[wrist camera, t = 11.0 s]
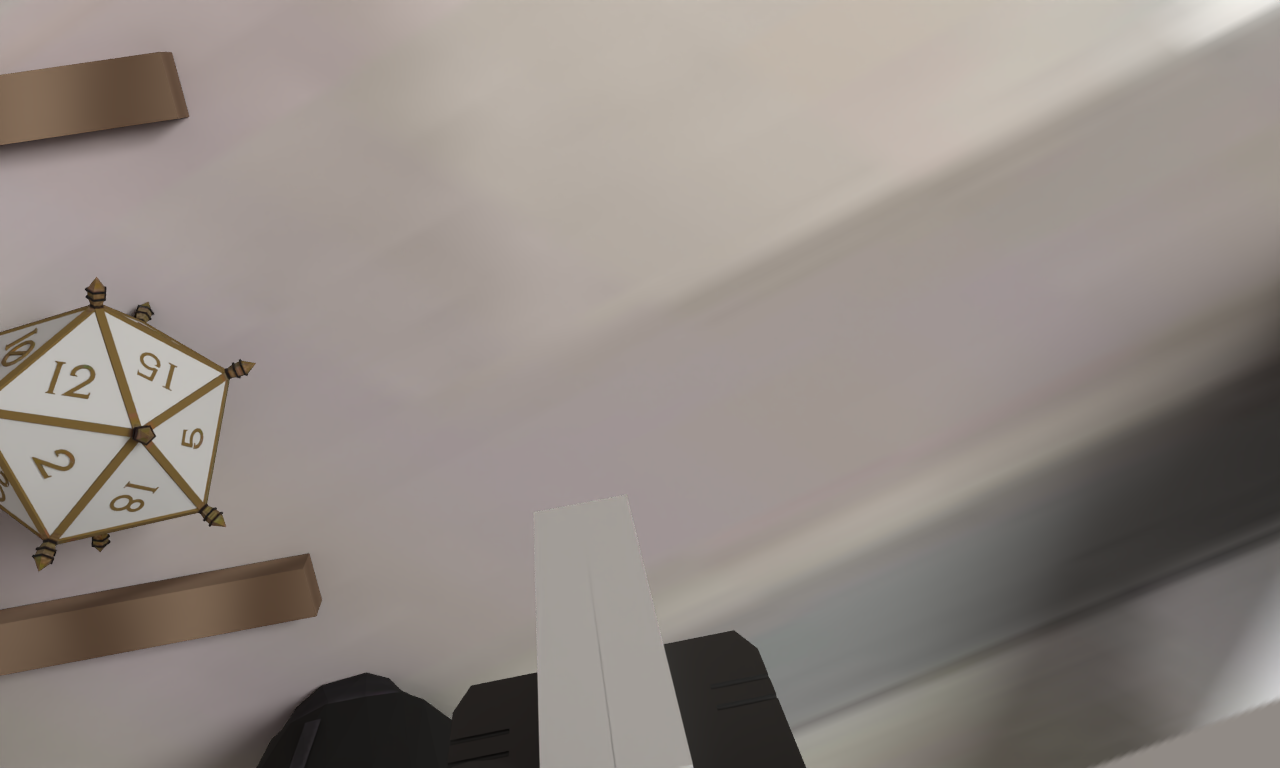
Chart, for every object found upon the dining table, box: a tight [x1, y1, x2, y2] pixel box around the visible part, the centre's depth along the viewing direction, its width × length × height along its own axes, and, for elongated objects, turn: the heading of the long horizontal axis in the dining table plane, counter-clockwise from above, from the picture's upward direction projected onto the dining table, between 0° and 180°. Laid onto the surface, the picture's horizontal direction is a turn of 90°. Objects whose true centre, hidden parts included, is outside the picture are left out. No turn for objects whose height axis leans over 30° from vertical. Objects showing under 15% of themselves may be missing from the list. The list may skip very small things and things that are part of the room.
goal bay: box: [0, 52, 322, 676], centre depth 34 cm, size 16×20×1 cm
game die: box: [0, 277, 256, 571], centre depth 32 cm, size 9×8×10 cm
